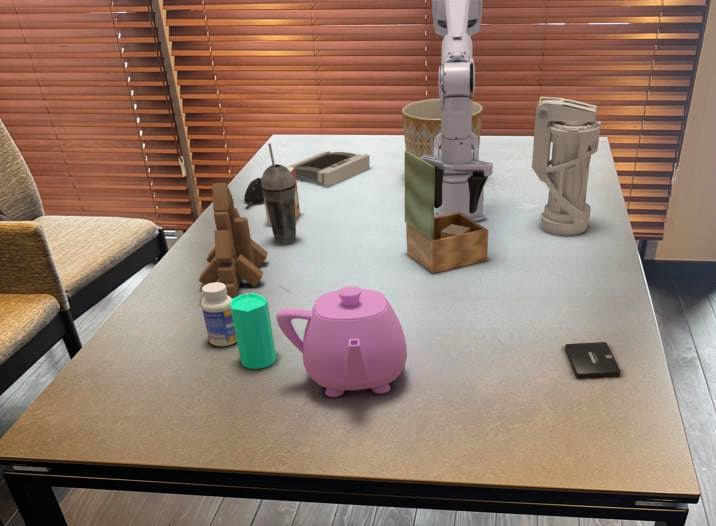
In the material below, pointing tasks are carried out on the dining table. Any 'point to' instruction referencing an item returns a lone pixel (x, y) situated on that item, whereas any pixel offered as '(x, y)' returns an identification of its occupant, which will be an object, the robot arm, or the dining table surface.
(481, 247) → the open wooden box
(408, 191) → the lid
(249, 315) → the candle
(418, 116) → the planter
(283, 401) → the dining table surface
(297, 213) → the small box
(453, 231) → the cube
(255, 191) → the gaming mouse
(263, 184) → the beverage cup
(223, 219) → the wooden blocks
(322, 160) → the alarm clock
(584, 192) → the lantern
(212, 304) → the pill bottle
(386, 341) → the teapot
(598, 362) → the solid state drive
